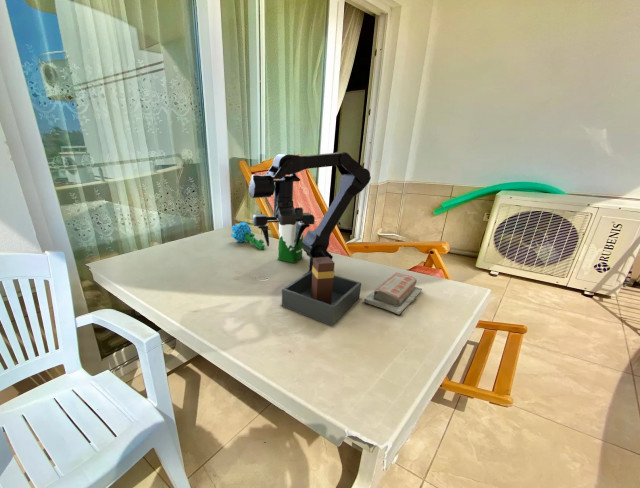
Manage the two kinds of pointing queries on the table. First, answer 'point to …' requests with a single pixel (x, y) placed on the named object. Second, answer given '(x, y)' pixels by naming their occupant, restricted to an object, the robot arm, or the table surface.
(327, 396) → the table surface
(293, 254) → the milk carton
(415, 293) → the packaged product
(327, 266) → the chocolate box
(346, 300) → the open storage bin
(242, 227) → the toy flower
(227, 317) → the table surface
